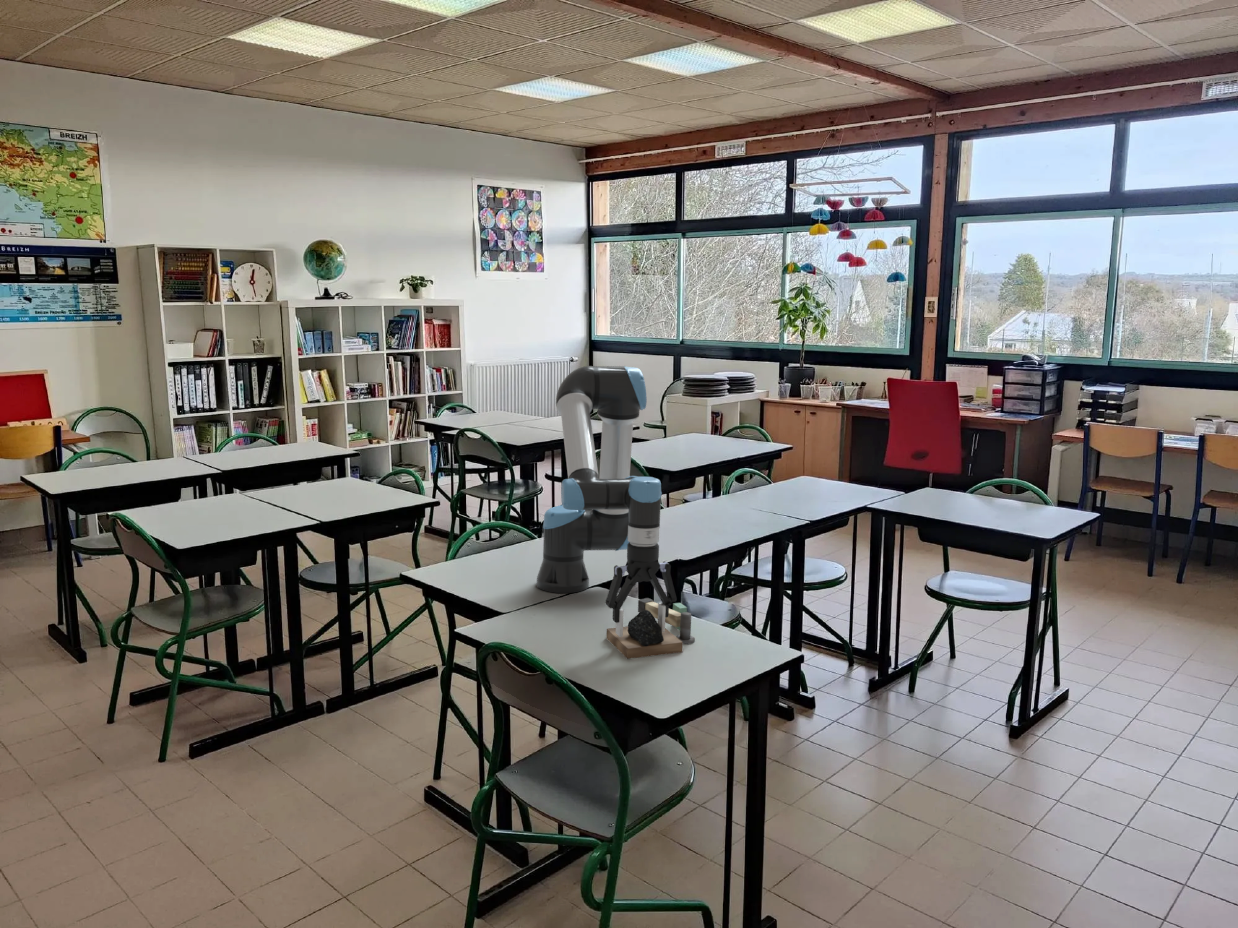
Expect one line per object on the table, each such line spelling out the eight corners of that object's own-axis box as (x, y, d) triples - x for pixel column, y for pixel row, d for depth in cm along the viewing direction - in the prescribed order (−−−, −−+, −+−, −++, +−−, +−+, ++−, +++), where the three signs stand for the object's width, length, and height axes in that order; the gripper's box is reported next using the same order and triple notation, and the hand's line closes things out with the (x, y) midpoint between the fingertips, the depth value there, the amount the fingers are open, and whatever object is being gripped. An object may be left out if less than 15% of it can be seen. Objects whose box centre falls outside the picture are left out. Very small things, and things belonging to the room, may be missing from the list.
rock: (642, 647, 217) (643, 623, 216) (621, 634, 226) (621, 610, 225) (668, 643, 220) (669, 619, 219) (646, 629, 229) (647, 607, 228)
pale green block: (672, 625, 240) (673, 603, 239) (679, 624, 241) (680, 602, 240) (678, 630, 236) (679, 608, 235) (686, 629, 237) (686, 607, 236)
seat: (606, 638, 229) (607, 611, 228) (681, 629, 237) (682, 604, 236) (627, 658, 217) (628, 630, 215) (706, 649, 224) (707, 622, 223)
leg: (684, 625, 232) (685, 613, 231) (675, 628, 230) (675, 615, 229) (647, 609, 243) (647, 597, 242) (637, 611, 241) (638, 599, 241)
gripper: (603, 550, 213) (601, 642, 217) (693, 543, 221) (689, 632, 225) (592, 542, 220) (590, 631, 224) (680, 535, 228) (676, 622, 232)
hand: (640, 632), depth 225 cm, fingers open, 10 cm apart
